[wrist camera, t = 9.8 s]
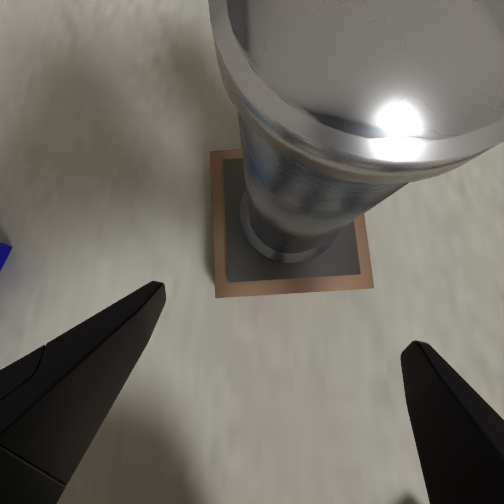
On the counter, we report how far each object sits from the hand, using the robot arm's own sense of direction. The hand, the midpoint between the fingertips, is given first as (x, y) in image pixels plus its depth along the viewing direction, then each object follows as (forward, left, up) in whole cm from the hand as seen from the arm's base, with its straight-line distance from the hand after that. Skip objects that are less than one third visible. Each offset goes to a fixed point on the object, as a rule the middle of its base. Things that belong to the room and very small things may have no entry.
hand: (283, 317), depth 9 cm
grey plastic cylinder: (+2, +6, -7) cm, 10 cm away
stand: (+2, +6, -10) cm, 12 cm away
